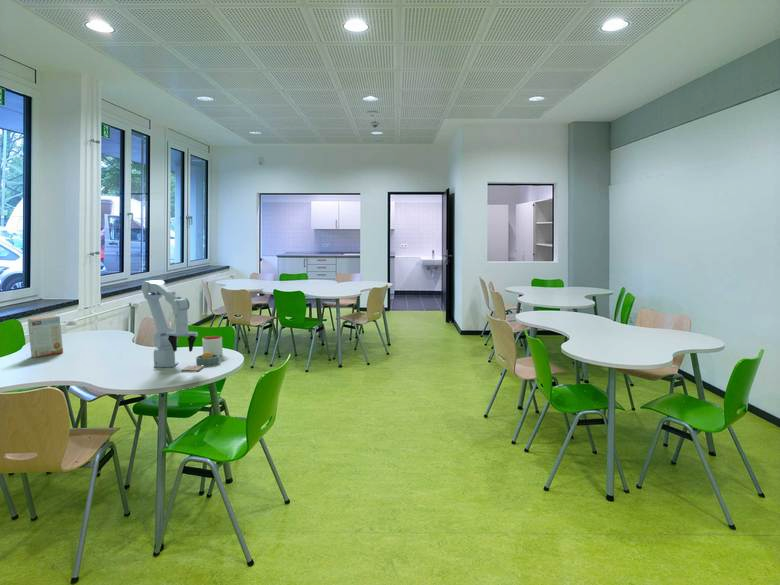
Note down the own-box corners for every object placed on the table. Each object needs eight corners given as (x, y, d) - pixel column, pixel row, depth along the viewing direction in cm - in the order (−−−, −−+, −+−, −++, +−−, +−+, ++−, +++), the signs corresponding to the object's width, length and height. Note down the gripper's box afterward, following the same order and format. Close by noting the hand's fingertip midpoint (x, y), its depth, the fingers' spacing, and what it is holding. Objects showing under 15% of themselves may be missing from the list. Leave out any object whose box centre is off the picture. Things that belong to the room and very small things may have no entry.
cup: (216, 358, 282) (215, 340, 280) (199, 357, 284) (198, 339, 282) (226, 354, 291) (225, 336, 290) (209, 353, 293) (208, 335, 292)
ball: (200, 363, 269) (199, 353, 268) (204, 361, 274) (203, 350, 274) (211, 363, 269) (210, 352, 268) (215, 360, 274) (213, 350, 273)
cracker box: (58, 351, 300) (55, 315, 297) (63, 353, 296) (60, 316, 294) (30, 356, 288) (27, 318, 286) (35, 358, 285) (32, 319, 282)
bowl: (193, 365, 266) (193, 359, 266) (201, 360, 277) (201, 354, 276) (214, 365, 266) (214, 359, 266) (221, 360, 277) (221, 354, 276)
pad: (181, 371, 256) (181, 370, 256) (188, 367, 264) (188, 365, 264) (198, 371, 256) (197, 370, 256) (204, 367, 264) (204, 365, 263)
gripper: (162, 325, 252) (164, 353, 254) (193, 324, 252) (194, 352, 254) (169, 322, 259) (170, 349, 261) (198, 322, 259) (200, 349, 261)
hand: (183, 351), depth 258 cm, fingers open, 7 cm apart
